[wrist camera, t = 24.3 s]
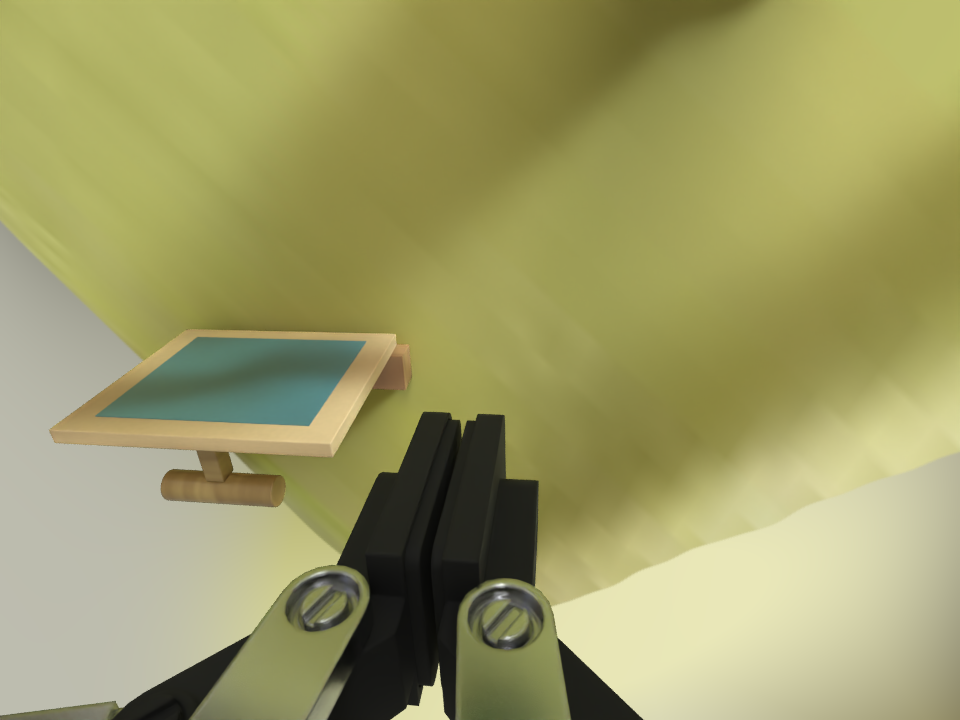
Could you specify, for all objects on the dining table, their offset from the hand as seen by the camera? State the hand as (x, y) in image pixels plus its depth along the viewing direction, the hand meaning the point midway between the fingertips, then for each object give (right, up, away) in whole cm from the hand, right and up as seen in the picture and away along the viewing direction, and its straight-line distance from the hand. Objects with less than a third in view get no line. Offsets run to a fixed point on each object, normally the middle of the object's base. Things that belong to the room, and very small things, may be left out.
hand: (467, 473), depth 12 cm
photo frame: (-13, +2, +19) cm, 23 cm away
